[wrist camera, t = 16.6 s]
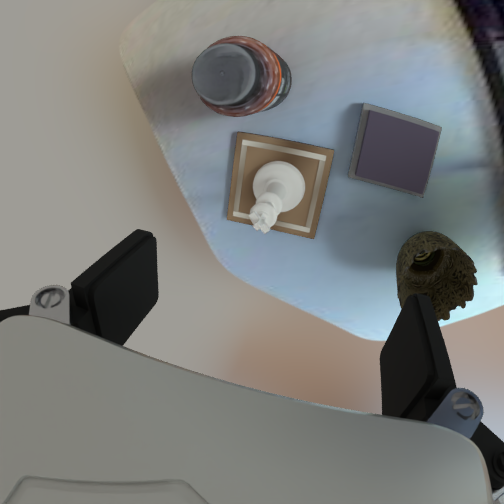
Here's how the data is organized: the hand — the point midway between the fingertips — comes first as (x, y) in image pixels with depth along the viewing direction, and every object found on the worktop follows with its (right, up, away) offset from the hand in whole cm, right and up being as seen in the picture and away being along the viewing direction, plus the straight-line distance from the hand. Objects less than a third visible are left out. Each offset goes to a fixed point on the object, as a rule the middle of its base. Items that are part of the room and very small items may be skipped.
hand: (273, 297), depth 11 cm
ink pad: (+12, +11, +15) cm, 22 cm away
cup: (+16, +2, +19) cm, 25 cm away
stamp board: (+2, +8, +20) cm, 21 cm away
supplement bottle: (0, +17, +15) cm, 23 cm away
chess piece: (+2, +8, +19) cm, 21 cm away
